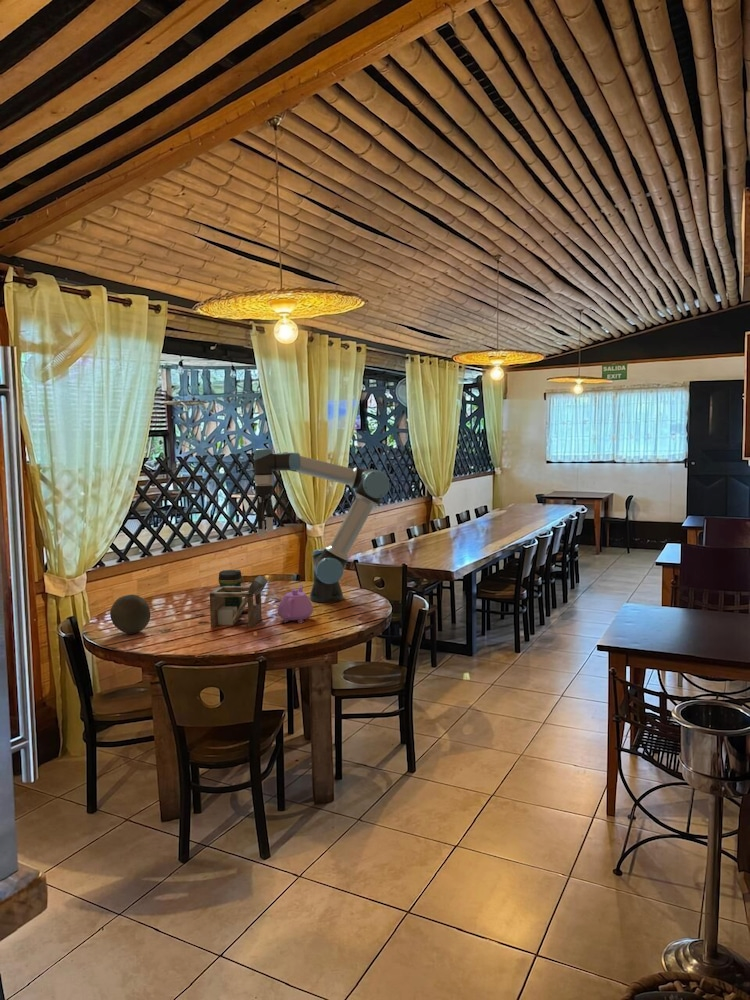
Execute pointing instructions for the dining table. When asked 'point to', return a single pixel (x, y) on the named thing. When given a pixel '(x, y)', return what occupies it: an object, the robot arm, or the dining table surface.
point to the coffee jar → (231, 580)
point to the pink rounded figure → (295, 606)
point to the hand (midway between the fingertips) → (265, 534)
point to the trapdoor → (256, 588)
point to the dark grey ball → (130, 614)
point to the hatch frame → (219, 596)
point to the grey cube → (226, 615)
